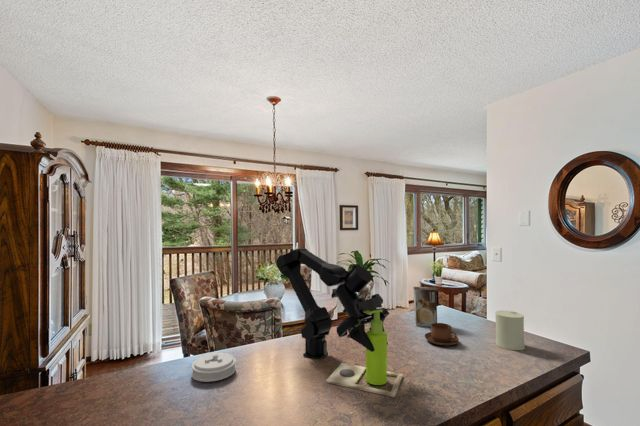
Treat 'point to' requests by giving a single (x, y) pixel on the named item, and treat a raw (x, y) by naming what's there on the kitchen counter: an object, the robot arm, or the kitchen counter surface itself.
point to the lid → (213, 367)
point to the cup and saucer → (441, 334)
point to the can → (510, 330)
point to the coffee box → (425, 306)
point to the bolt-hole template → (351, 375)
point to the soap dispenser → (376, 351)
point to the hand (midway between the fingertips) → (380, 348)
